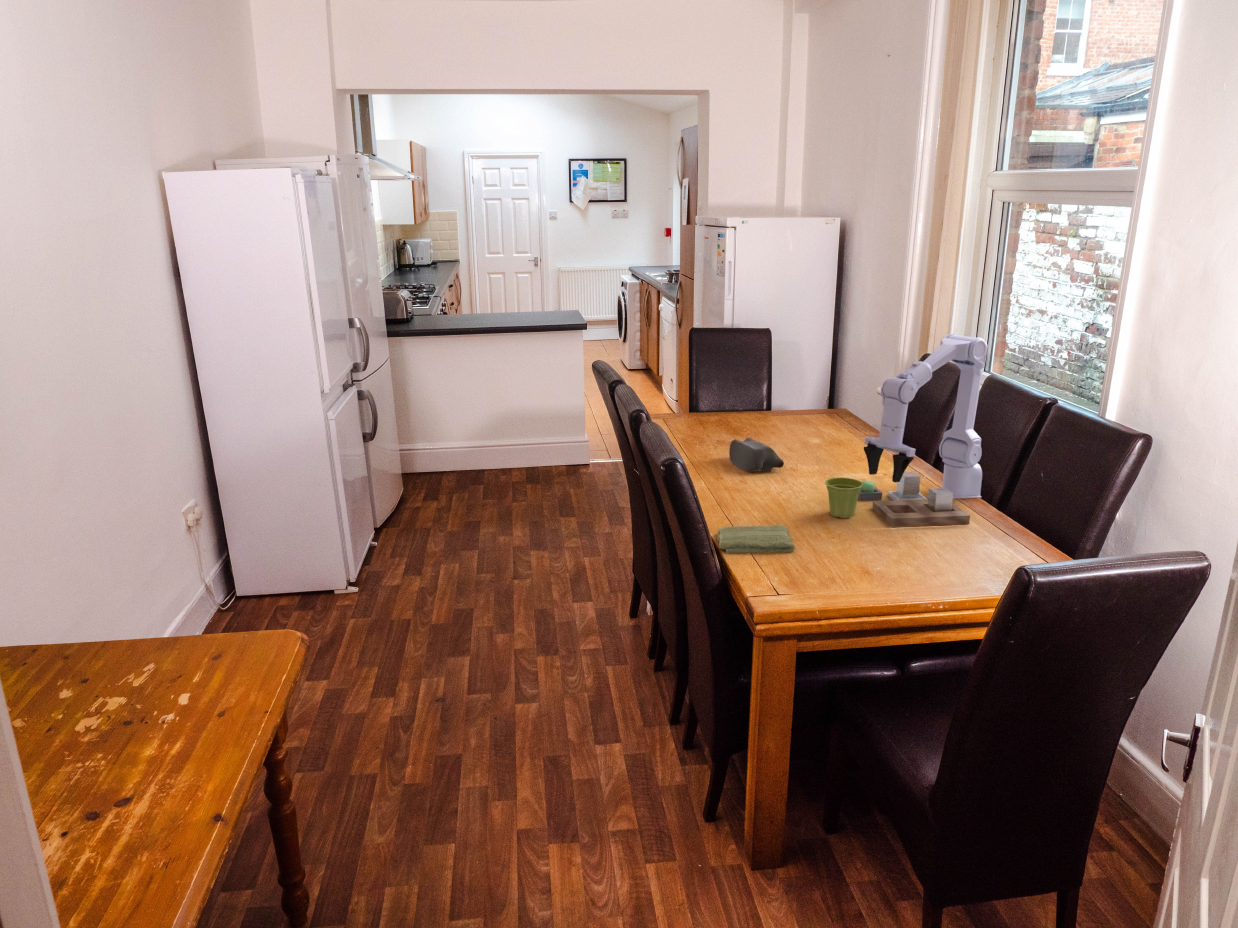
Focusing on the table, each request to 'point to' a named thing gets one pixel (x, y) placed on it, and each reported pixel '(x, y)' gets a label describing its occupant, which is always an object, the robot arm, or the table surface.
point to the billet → (908, 486)
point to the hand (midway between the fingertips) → (884, 478)
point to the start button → (868, 486)
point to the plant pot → (843, 496)
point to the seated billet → (940, 499)
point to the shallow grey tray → (893, 496)
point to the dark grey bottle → (753, 456)
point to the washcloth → (755, 539)
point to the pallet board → (917, 513)
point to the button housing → (870, 495)
